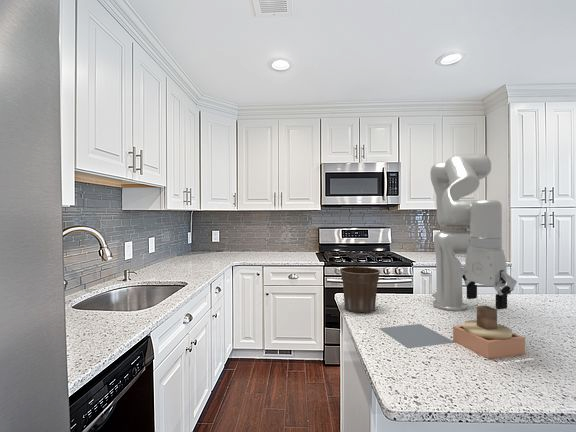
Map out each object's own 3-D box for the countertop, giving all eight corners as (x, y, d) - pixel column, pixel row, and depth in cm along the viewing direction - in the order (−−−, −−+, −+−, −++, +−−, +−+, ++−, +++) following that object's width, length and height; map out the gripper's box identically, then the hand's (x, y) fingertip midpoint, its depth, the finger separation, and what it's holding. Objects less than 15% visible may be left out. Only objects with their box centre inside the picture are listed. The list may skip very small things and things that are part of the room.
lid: (453, 326, 90) (453, 303, 90) (486, 322, 93) (485, 300, 93) (487, 341, 79) (487, 315, 79) (523, 337, 81) (523, 312, 81)
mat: (378, 330, 101) (378, 328, 101) (420, 325, 105) (420, 323, 105) (407, 350, 86) (407, 348, 86) (455, 344, 89) (455, 342, 89)
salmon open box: (453, 342, 90) (453, 326, 90) (486, 338, 93) (486, 322, 93) (488, 361, 79) (488, 342, 79) (525, 356, 81) (524, 337, 81)
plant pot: (387, 308, 125) (387, 269, 125) (369, 318, 113) (369, 274, 113) (352, 301, 136) (352, 265, 136) (332, 309, 124) (332, 270, 124)
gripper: (451, 241, 94) (451, 296, 94) (503, 247, 77) (503, 314, 77) (471, 240, 95) (471, 294, 96) (526, 246, 79) (526, 312, 79)
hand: (485, 303), depth 86 cm, fingers open, 9 cm apart
